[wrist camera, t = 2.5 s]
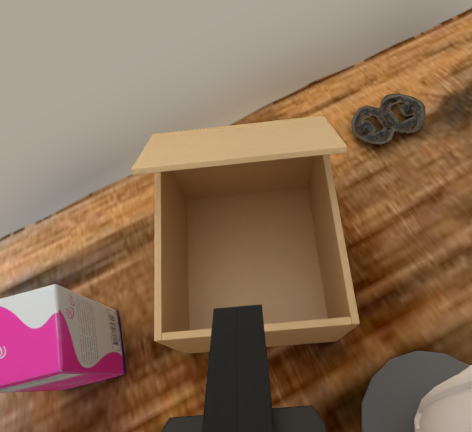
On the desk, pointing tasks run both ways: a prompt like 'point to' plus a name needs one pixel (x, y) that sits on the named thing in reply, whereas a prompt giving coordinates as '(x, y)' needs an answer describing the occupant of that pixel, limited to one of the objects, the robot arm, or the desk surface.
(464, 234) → the desk surface
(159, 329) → the carton
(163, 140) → the flap
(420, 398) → the cup
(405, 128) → the corroded twin loop
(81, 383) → the supplement box
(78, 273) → the desk surface
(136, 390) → the desk surface
